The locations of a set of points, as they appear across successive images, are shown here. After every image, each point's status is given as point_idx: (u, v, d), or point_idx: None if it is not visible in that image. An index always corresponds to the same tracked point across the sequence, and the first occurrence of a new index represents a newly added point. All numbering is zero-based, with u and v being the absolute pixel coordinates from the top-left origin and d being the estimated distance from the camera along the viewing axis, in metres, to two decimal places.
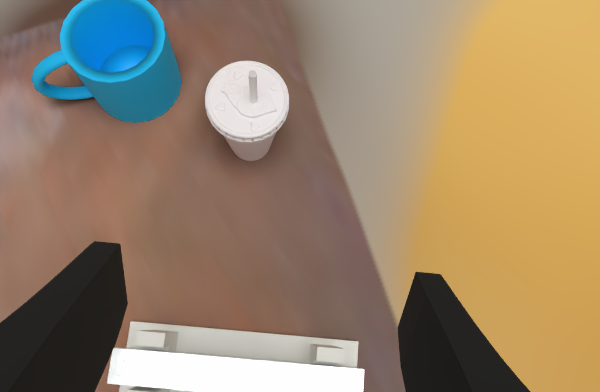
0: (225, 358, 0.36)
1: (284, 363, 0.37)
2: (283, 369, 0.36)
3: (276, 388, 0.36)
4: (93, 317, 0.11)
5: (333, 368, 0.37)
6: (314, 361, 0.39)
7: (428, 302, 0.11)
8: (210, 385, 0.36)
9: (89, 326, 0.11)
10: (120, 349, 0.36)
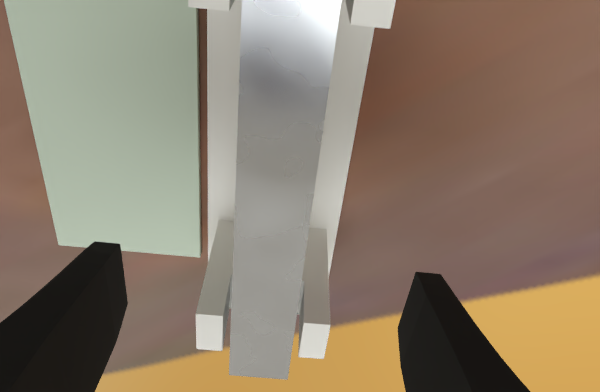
0: (314, 174, 0.15)
1: (300, 276, 0.18)
2: (288, 275, 0.18)
3: (251, 263, 0.17)
4: (93, 317, 0.11)
5: (289, 343, 0.20)
6: None
7: (428, 302, 0.11)
8: (253, 144, 0.15)
9: (89, 326, 0.11)
10: None
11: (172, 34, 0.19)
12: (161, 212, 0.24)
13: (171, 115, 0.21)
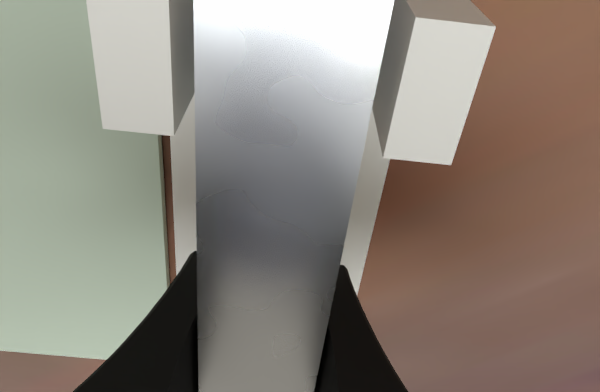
0: (318, 353, 0.10)
1: None
2: None
3: None
4: None
5: None
6: None
7: None
8: (223, 316, 0.09)
9: None
10: None
11: None
12: (120, 316, 0.19)
13: (127, 206, 0.16)
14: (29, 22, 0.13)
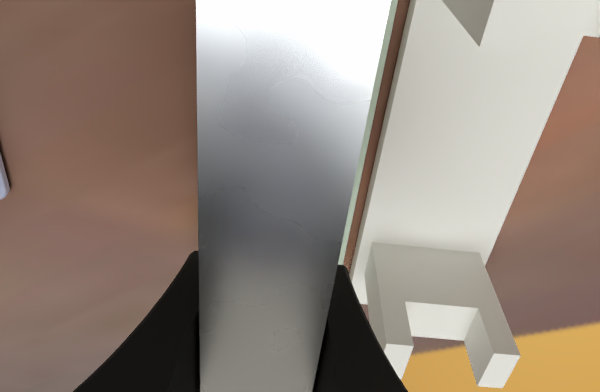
0: (317, 348, 0.10)
1: None
2: None
3: None
4: None
5: None
6: (473, 309, 0.21)
7: None
8: (224, 311, 0.10)
9: None
10: None
11: None
12: None
13: None
14: None
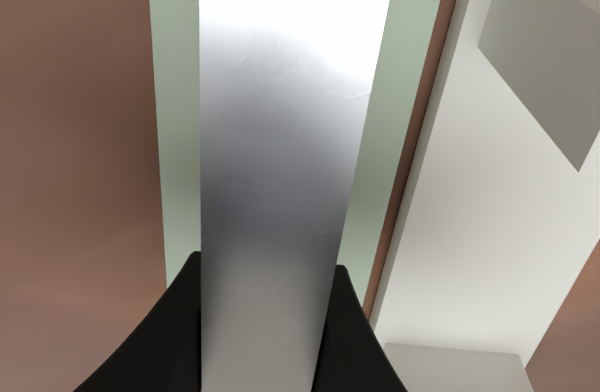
0: (317, 340, 0.10)
1: None
2: None
3: None
4: None
5: None
6: None
7: None
8: (225, 303, 0.10)
9: (200, 336, 0.11)
10: None
11: (374, 131, 0.14)
12: None
13: (348, 225, 0.16)
14: None
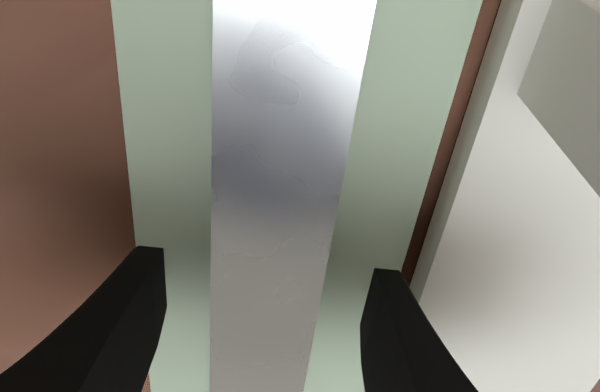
0: (317, 299, 0.11)
1: None
2: None
3: None
4: (141, 321, 0.11)
5: None
6: None
7: (382, 298, 0.11)
8: (233, 264, 0.11)
9: (137, 330, 0.11)
10: None
11: (387, 187, 0.12)
12: None
13: (355, 289, 0.14)
14: None
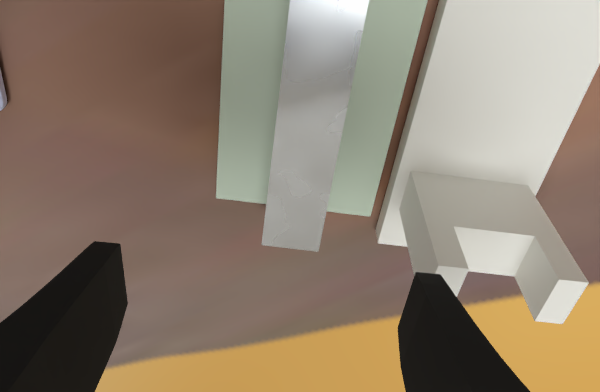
0: (365, 8, 0.16)
1: (341, 129, 0.18)
2: (329, 127, 0.18)
3: (294, 112, 0.18)
4: (93, 317, 0.11)
5: (324, 209, 0.20)
6: (529, 237, 0.18)
7: (428, 302, 0.11)
8: None
9: (88, 326, 0.11)
10: None
11: None
12: (341, 162, 0.21)
13: (385, 45, 0.19)
14: None
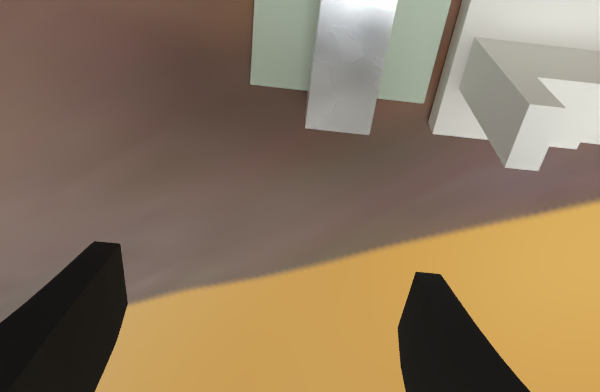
0: None
1: None
2: None
3: None
4: (93, 317, 0.11)
5: (378, 77, 0.18)
6: None
7: (428, 302, 0.11)
8: None
9: (89, 326, 0.11)
10: None
11: None
12: (394, 33, 0.19)
13: None
14: None
